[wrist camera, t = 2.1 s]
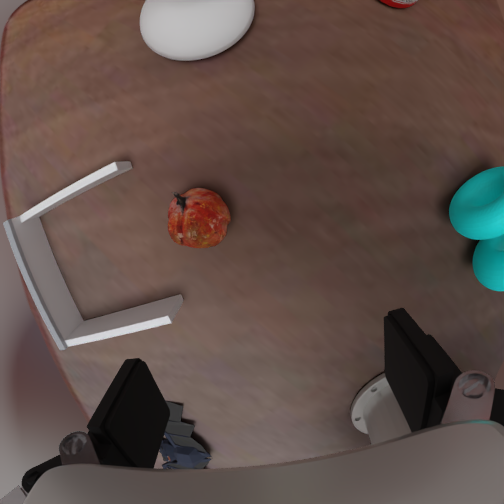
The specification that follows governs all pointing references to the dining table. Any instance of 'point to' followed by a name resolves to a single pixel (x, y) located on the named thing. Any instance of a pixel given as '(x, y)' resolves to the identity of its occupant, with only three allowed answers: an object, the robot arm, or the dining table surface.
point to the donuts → (483, 223)
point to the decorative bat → (181, 443)
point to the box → (54, 287)
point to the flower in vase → (194, 26)
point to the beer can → (399, 3)
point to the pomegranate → (198, 218)
